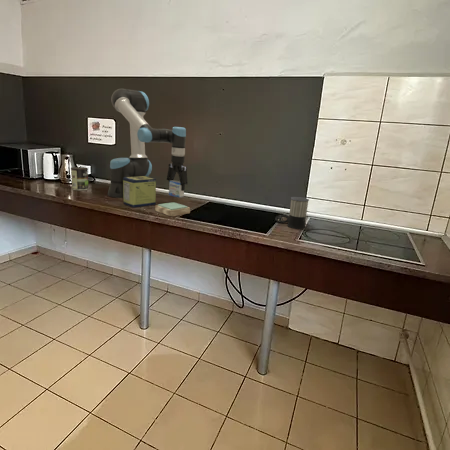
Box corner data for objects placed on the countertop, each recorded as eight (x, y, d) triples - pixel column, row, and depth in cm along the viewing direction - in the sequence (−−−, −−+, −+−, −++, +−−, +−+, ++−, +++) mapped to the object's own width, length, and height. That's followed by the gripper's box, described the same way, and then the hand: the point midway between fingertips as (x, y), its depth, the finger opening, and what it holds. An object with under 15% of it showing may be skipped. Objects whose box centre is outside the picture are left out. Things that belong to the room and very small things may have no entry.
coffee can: (91, 188, 227) (90, 167, 223) (84, 191, 217) (83, 169, 213) (76, 187, 227) (75, 166, 223) (69, 189, 217) (67, 168, 213)
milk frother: (305, 230, 166) (309, 201, 162) (273, 226, 169) (277, 197, 164) (304, 223, 179) (308, 196, 175) (275, 219, 182) (278, 193, 178)
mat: (157, 205, 180) (157, 204, 180) (173, 203, 188) (173, 202, 188) (171, 210, 173) (171, 209, 173) (187, 207, 181) (187, 206, 181)
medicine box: (168, 195, 194) (169, 180, 192) (173, 194, 198) (173, 179, 196) (179, 197, 191) (180, 182, 188) (184, 196, 195) (184, 182, 192)
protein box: (156, 204, 195) (156, 178, 191) (133, 207, 184) (133, 180, 180) (145, 201, 202) (145, 175, 198) (122, 204, 191) (122, 177, 186)
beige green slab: (155, 210, 181) (155, 205, 180) (173, 207, 191) (173, 202, 190) (171, 216, 172) (171, 210, 172) (190, 213, 182) (190, 207, 181)
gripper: (161, 153, 192) (160, 191, 198) (185, 157, 178) (183, 198, 185) (171, 152, 197) (169, 190, 204) (195, 157, 184) (193, 197, 190)
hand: (176, 194), depth 194 cm, fingers closed on medicine box, 9 cm apart
